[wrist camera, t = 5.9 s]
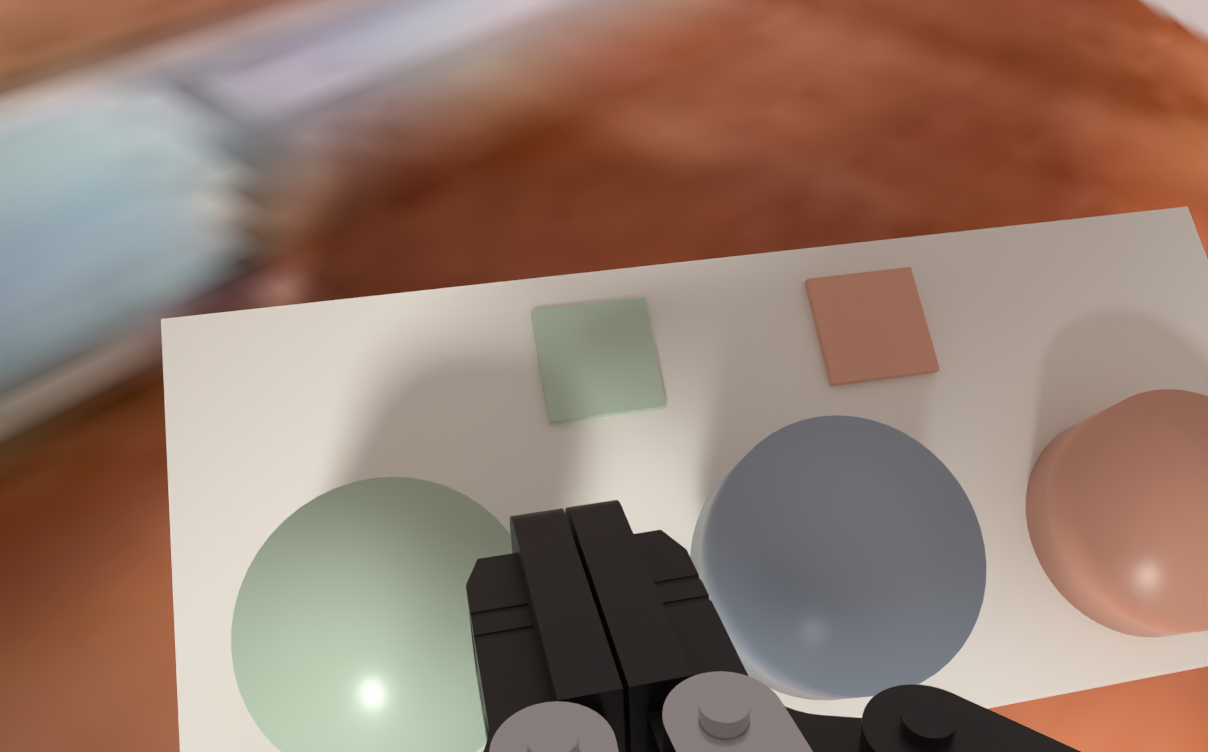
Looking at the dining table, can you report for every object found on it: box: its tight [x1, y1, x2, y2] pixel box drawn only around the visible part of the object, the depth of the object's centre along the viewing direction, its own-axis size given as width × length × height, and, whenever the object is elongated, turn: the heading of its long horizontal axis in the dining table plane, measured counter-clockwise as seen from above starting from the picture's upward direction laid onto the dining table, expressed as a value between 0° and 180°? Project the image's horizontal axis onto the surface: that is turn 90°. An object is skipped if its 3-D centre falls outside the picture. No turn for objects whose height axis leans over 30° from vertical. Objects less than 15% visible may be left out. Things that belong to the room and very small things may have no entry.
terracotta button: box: [1026, 389, 1208, 637], centre depth 21 cm, size 5×5×2 cm
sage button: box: [231, 477, 512, 752], centre depth 17 cm, size 5×5×2 cm
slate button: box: [690, 415, 987, 700], centre depth 18 cm, size 5×5×2 cm
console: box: [161, 206, 1208, 752], centre depth 25 cm, size 23×10×8 cm, turn 100°
